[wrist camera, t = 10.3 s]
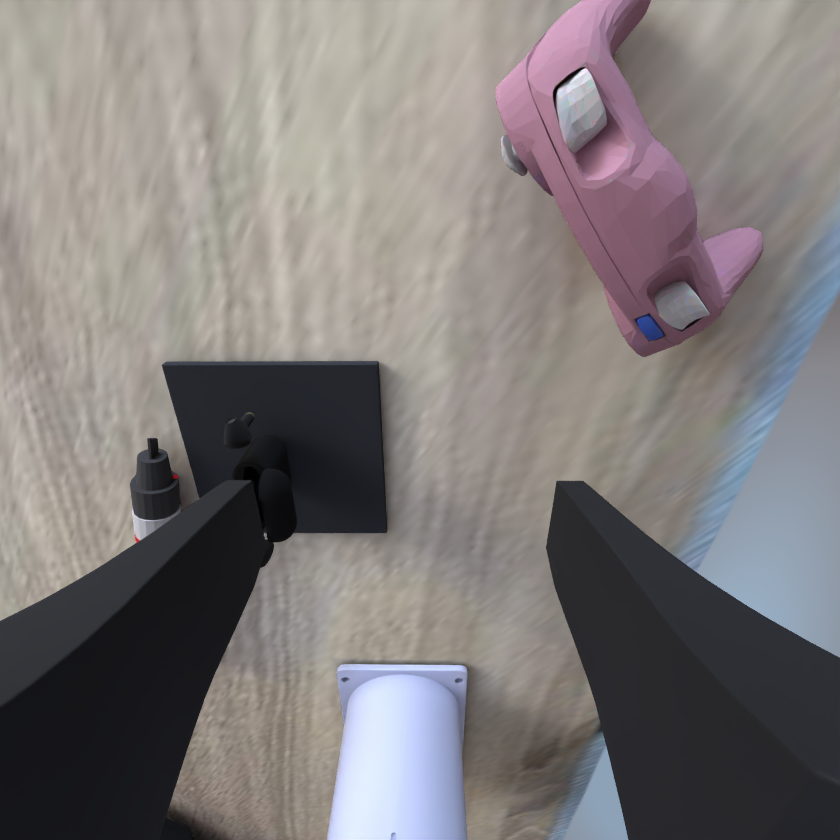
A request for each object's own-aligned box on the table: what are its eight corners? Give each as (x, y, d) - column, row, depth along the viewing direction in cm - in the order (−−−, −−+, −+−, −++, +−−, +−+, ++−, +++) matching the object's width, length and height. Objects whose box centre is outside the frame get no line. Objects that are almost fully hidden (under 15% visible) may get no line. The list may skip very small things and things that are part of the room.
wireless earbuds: (245, 387, 19) (190, 447, 15) (304, 386, 19) (267, 448, 15) (271, 517, 22) (232, 600, 18) (321, 517, 22) (295, 600, 18)
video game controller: (508, 74, 16) (441, 116, 11) (643, -54, 13) (627, -69, 8) (636, 300, 19) (626, 405, 15) (765, 242, 16) (804, 351, 12)
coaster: (387, 528, 23) (386, 533, 23) (212, 527, 23) (208, 532, 23) (378, 360, 19) (377, 364, 19) (166, 361, 19) (161, 364, 19)
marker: (194, 645, 28) (178, 677, 26) (161, 640, 27) (143, 672, 26) (184, 428, 21) (162, 450, 19) (140, 420, 20) (113, 442, 19)
